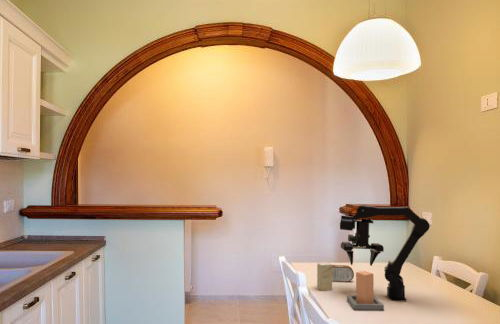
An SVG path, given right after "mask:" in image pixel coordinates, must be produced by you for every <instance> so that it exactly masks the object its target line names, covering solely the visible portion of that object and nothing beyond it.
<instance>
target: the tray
mask: <svg viewBox="0 0 500 324" xmlns="http://www.w3.org/2000/svg"><path fill="white" fill-rule="evenodd" d="M346 301H347V302H348V303H350V304H349V305H350V306H351V308H352V307H353V308H352V309H353V310H354V311H371V312H373V311H374V312H375V311H376V312H377V311H378V312H379V311H380V312H381V311H383V312H384V310H385V305H384V303H382V302H381V301H380V300H379V298H377V297H376V296H375V295H374V304H358V303H356V294H347V295H346Z"/></svg>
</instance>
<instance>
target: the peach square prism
mask: <svg viewBox="0 0 500 324" xmlns="http://www.w3.org/2000/svg"><path fill="white" fill-rule="evenodd" d="M374 284H375V283H374V273H372V272H369V271H366V270H362V271H356V272H355V290H356V291H355V293H356V294H355V295H356V303H358V304H374V296H375V292H374V289H375V288H374Z"/></svg>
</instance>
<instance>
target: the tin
mask: <svg viewBox="0 0 500 324" xmlns="http://www.w3.org/2000/svg"><path fill="white" fill-rule="evenodd" d="M354 278H355V273H354V270H353V268H352V267H351V266H349V265H347V264H345V265H344V264H343V265H342V264H332V283H334V282H336V283H350V282H351V281H353V279H354Z"/></svg>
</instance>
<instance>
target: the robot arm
mask: <svg viewBox="0 0 500 324" xmlns="http://www.w3.org/2000/svg"><path fill="white" fill-rule="evenodd" d="M376 216H377V217H378V216H400V217H401V216H405V217H406V218H407V219H408V220H409V221H410V222H411V223H413V225H412V227H411V231H410V233H409V236H408V237H407V239H406V240H405V241H404V242H405V243H404V244H403V246H402V247H401V249H400V251H399V252H398V254H396V255H397V256H396V257H395V259H393V261H391V260H388V263H387V264H386V266H384V279H385V280H386V281H387V282H388V283H387V287H386V297H388V298H389V300H391V301H404V302H405V301H407V299H406V295H405V294H406V290H405V289H406V286H405V284H404V279H403V277H402V275H400V274H401V272H402V268H403V265H404V264H405V262H406V260H407V259H408V258H409V256H410V254H411V252H412V251H413V249H414V248H415V246H416V244H417V242H418V241H419V240H420V239H421V238H422V237H423V236H425V234H426V233H427V232H429V230H430V227H431V226H430V222H429V221H428V220H427V219H426V218H425V217H420V216H419V215H418V214H416V213H415V212H414V211H413V210H412V209H411V208H410V207H409V206H382V207H381V206H379V207H378V206H372V205H368V204H361V205H359V206H358V207H357V209H356V213H355V214H353V216H349V215H348V216H347V215H343V214H342V215H341V216H340V222H339V229H340V230H343V231H352V232H353V230H354V229H356V230H355V233H354V234H355V235H354V234H348V235H347V237H348V239H347V240H348V242H347V241H342V242H341V243H340V248H341V249H342V250H343V251H345V252H346V254H347V257H348V259H349V263H350V265H351V266H353V264H354V250H353V249H355V250H356V249H361V250H369V252H370V258H369V265H370V266H371V267H372V266H373V264H374V262H375V260H376V259H377V257H378V256H379V254H381V253H382V252H383V253H384V252H385V250H384V249H385V248H384V246H383V245H382V244H380V243H375V242H374V243H372V242H371V243H369V241H370V239H369V238H370V237H371V236H370V224H374V220H372V217H376ZM359 219H360V220H359Z"/></svg>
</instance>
